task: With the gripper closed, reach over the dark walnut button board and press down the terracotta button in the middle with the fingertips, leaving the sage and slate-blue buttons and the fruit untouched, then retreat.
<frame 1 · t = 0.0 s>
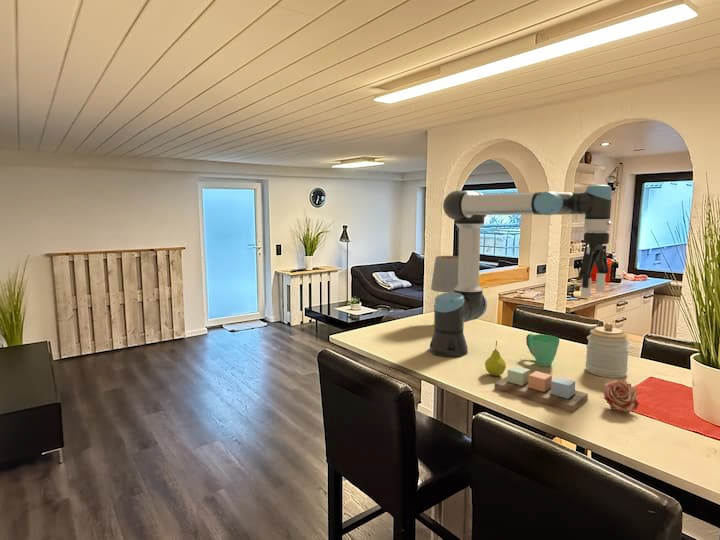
hand: (592, 294, 151), 28 cm above the table, fingers open, 13 cm apart
flower: (619, 411, 126), on the table
button slate: (563, 387, 132), point 4 cm above the table, slide at 0.0 cm
jar: (605, 372, 156), on the table
fruit: (494, 375, 154), on the table
button terracotta: (540, 381, 137), point 4 cm above the table, slide at 0.0 cm
mug: (539, 362, 167), on the table
button board: (539, 394, 138), on the table
lamp: (449, 324, 224), on the table
button sage: (518, 375, 142), point 4 cm above the table, slide at 0.0 cm
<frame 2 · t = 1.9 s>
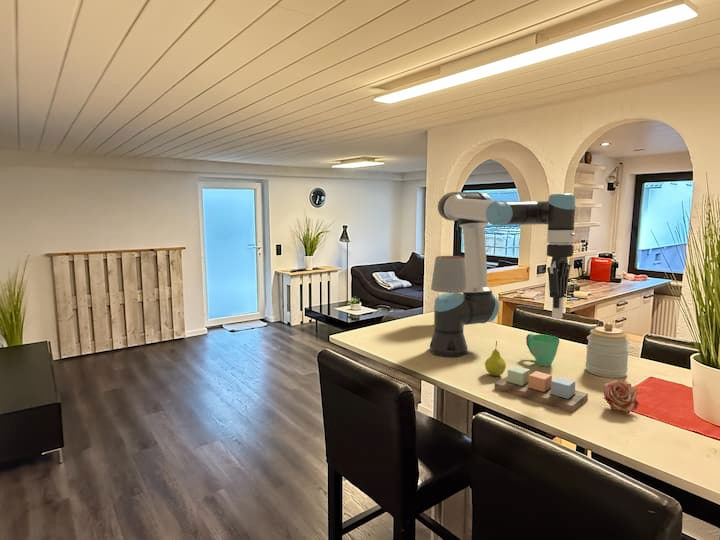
hand: (557, 317, 142), 23 cm above the table, fingers closed
nothing on the table moved.
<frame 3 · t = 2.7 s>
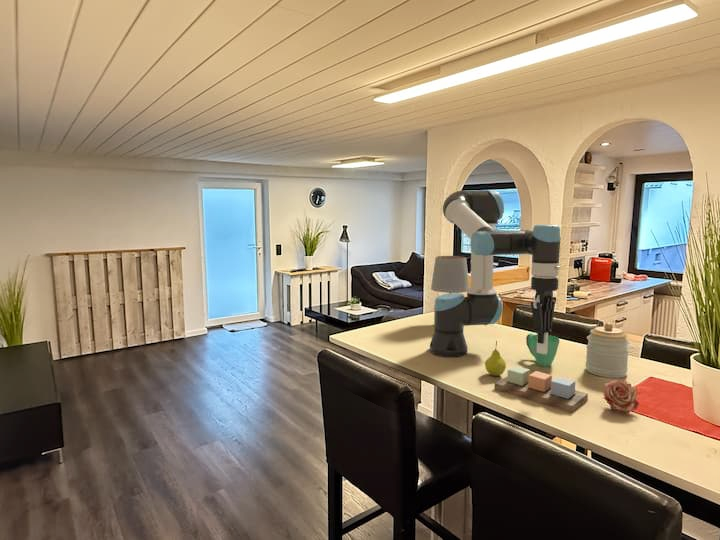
hand: (541, 352, 136), 13 cm above the table, fingers closed
nothing on the table moved.
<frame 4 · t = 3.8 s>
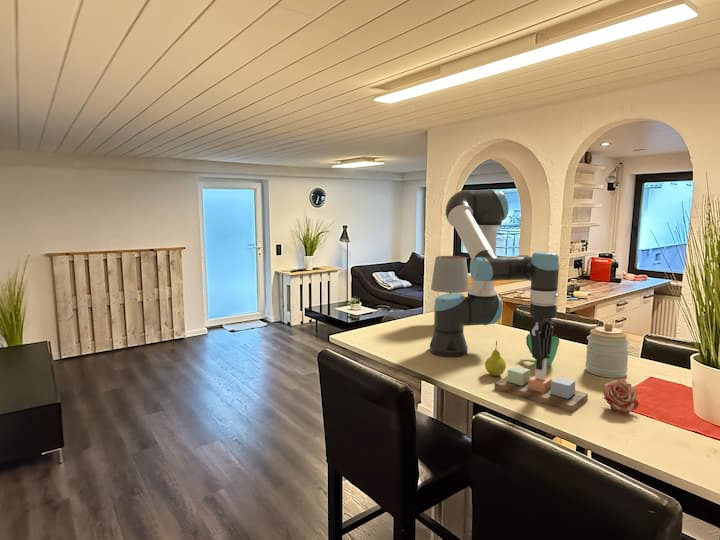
hand: (540, 378, 137), 5 cm above the table, fingers closed
button terracotta: (539, 385, 138), point 3 cm above the table, slide at 1.3 cm, touching gripper
everything else where it was.
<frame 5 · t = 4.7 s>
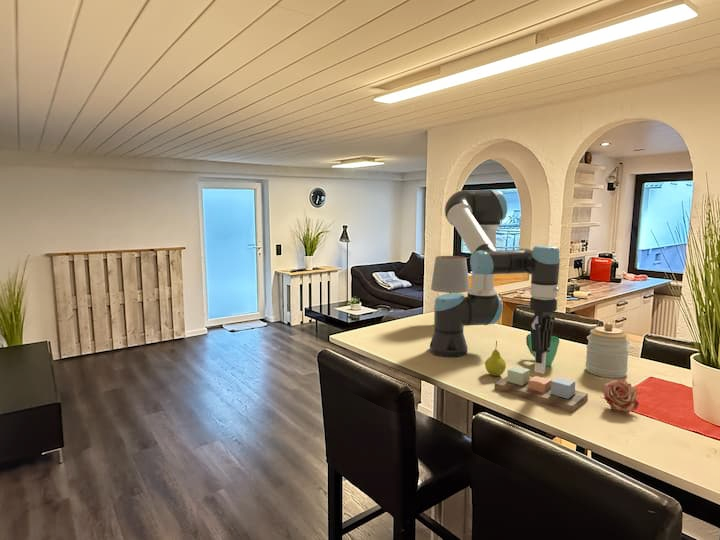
hand: (539, 371, 137), 7 cm above the table, fingers closed
button terracotta: (539, 386, 138), point 3 cm above the table, slide at 1.6 cm
everything else where it was.
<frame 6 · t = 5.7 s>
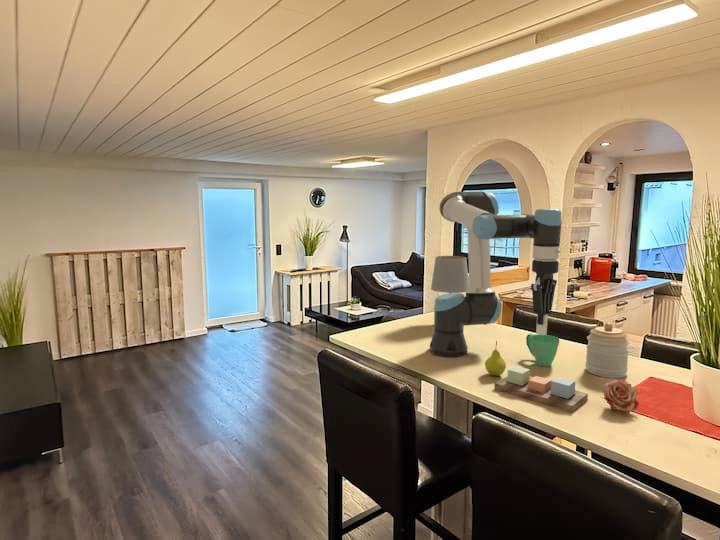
hand: (541, 333, 140), 18 cm above the table, fingers closed
nothing on the table moved.
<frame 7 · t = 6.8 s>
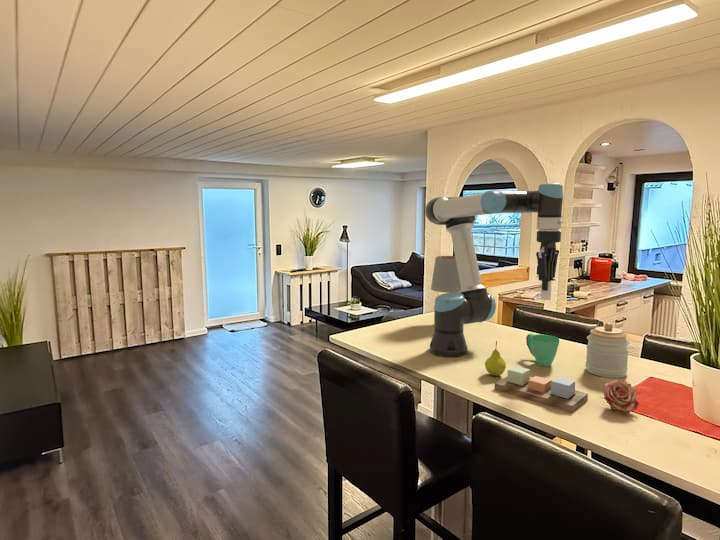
hand: (545, 299, 152), 26 cm above the table, fingers closed
nothing on the table moved.
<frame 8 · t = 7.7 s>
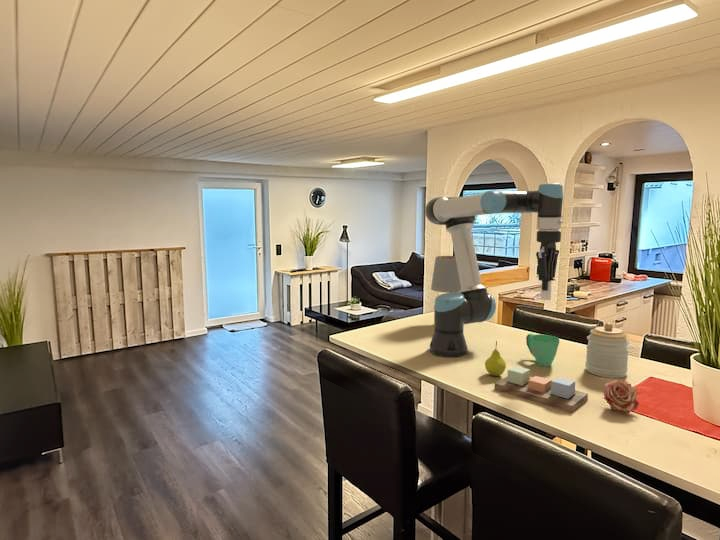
hand: (545, 299, 152), 26 cm above the table, fingers closed
nothing on the table moved.
at the end: button terracotta slide at 1.6 cm; button sage slide at 0.0 cm; button slate slide at 0.0 cm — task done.
